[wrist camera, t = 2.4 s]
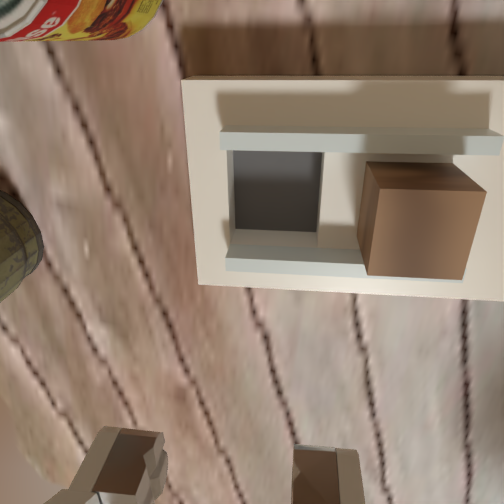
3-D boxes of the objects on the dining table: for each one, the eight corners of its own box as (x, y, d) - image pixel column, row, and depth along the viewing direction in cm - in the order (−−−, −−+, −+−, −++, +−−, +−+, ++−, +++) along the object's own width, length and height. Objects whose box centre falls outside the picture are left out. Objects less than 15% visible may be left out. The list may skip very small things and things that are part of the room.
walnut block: (452, 163, 24) (487, 191, 19) (435, 239, 26) (462, 280, 22) (366, 161, 24) (380, 188, 20) (356, 235, 26) (367, 275, 22)
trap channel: (616, 75, 23) (689, 84, 19) (537, 280, 30) (577, 322, 25) (193, 75, 26) (171, 83, 21) (206, 264, 32) (191, 299, 28)
